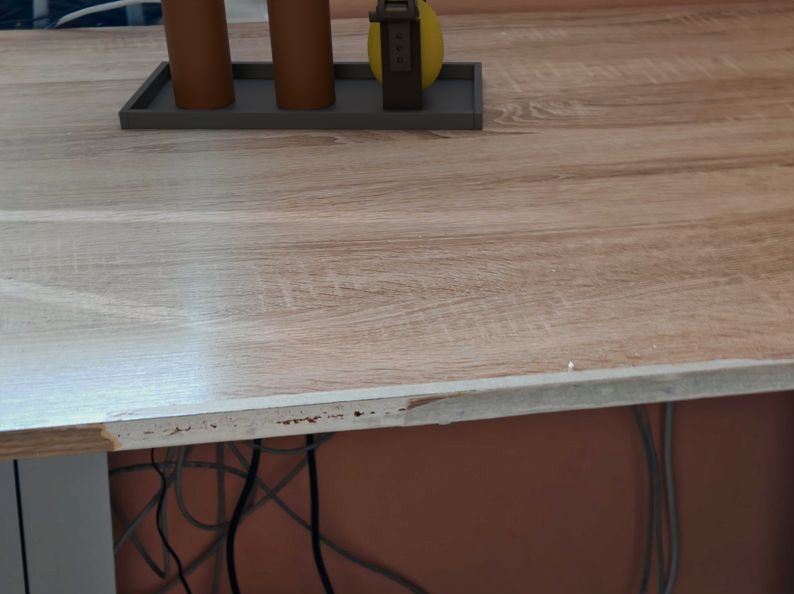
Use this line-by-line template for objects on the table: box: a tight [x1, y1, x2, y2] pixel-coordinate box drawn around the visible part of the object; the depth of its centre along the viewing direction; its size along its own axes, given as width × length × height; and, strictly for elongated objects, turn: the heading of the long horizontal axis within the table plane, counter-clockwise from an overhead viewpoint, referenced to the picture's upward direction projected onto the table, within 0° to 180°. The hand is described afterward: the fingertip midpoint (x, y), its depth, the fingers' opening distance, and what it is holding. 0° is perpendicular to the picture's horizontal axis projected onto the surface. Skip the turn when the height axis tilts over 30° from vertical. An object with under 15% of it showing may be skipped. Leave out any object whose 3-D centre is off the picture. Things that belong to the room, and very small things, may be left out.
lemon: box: [366, 0, 445, 91], centre depth 78 cm, size 6×6×8 cm
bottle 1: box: [160, 0, 235, 110], centre depth 77 cm, size 4×4×13 cm
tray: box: [117, 60, 484, 131], centre depth 80 cm, size 25×12×2 cm, turn 90°
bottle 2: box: [266, 0, 336, 110], centre depth 77 cm, size 4×4×13 cm
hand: (406, 92), depth 80 cm, fingers open, 9 cm apart
